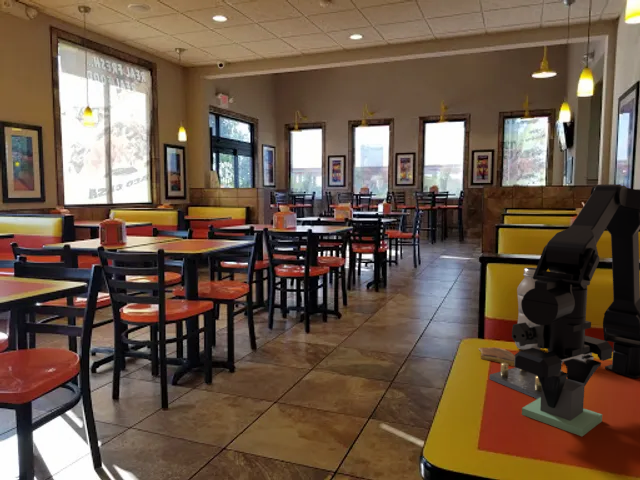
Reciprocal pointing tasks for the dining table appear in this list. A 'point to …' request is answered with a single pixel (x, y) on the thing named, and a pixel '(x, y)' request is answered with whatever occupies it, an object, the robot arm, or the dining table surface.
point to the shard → (497, 355)
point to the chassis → (518, 380)
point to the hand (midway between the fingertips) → (561, 403)
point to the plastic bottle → (523, 287)
